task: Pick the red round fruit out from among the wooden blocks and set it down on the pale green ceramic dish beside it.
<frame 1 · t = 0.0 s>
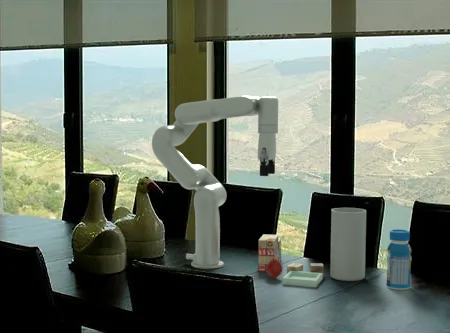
hand: (267, 174, 273), 37 cm above the table, tool pointing down, fingers open, 9 cm apart
beverage bottle: (398, 288, 251), on the table
beech block: (295, 275, 268), on the table
cylinder vase: (347, 278, 265), on the table
walnut block: (316, 276, 267), on the table
stack of blocks: (269, 266, 285), on the table
dish: (302, 282, 258), on the table
red round fruit: (274, 279, 263), on the table
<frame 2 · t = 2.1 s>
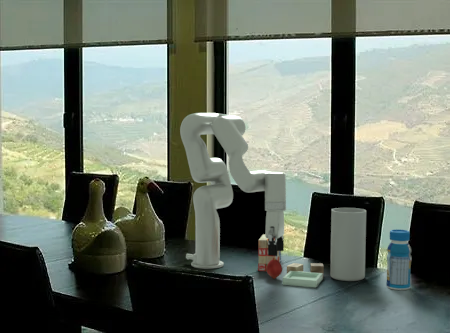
hand: (276, 253, 261), 10 cm above the table, tool pointing down, fingers open, 9 cm apart
nothing on the table moved.
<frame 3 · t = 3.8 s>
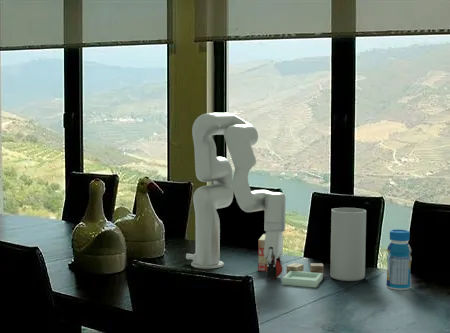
hand: (274, 275, 262), 1 cm above the table, tool pointing down, fingers closed on red round fruit, 5 cm apart
red round fruit: (274, 279, 263), on the table, touching gripper
everything else where it was.
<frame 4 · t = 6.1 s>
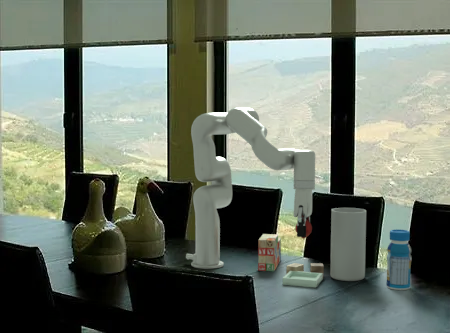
hand: (303, 234, 256), 17 cm above the table, tool pointing down, fingers closed on red round fruit, 5 cm apart
red round fruit: (303, 239, 256), point 16 cm above the table, touching gripper
everything else where it was.
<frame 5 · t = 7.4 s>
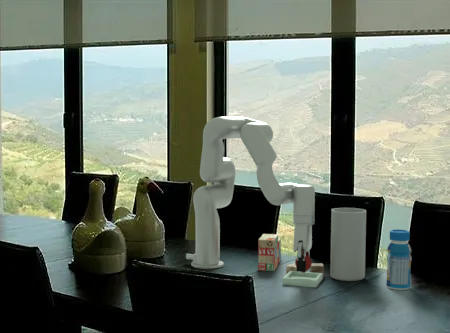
hand: (303, 269, 257), 5 cm above the table, tool pointing down, fingers closed on red round fruit, 5 cm apart
red round fruit: (303, 273, 257), point 3 cm above the table, touching gripper
when the fingers open (4 cm above the table, at t = 8.3 s): red round fruit drops 1 cm, resting on dish.
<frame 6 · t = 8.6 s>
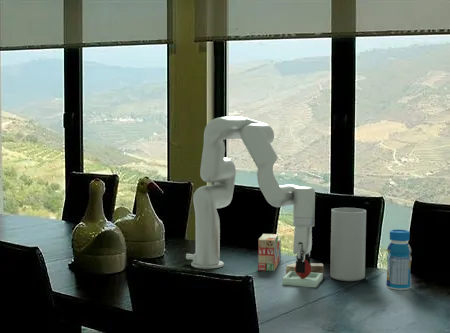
hand: (303, 269, 257), 5 cm above the table, tool pointing down, fingers open, 8 cm apart
red round fruit: (302, 279, 258), point 1 cm above the table, touching dish
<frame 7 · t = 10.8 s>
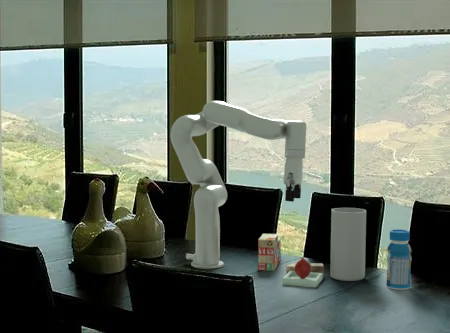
hand: (292, 199, 269), 28 cm above the table, tool pointing down, fingers open, 9 cm apart
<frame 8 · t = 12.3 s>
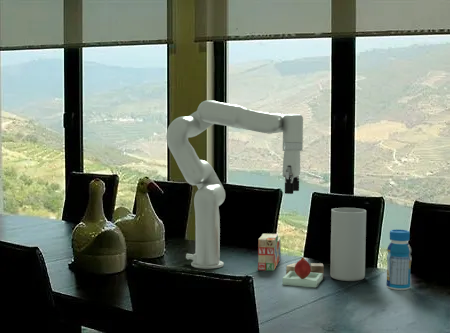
hand: (291, 192, 272), 30 cm above the table, tool pointing down, fingers open, 9 cm apart
at the end: red round fruit 0.3 cm from the dish (horizontally); red round fruit point 0.8 cm above the table; the gripper is holding nothing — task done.
